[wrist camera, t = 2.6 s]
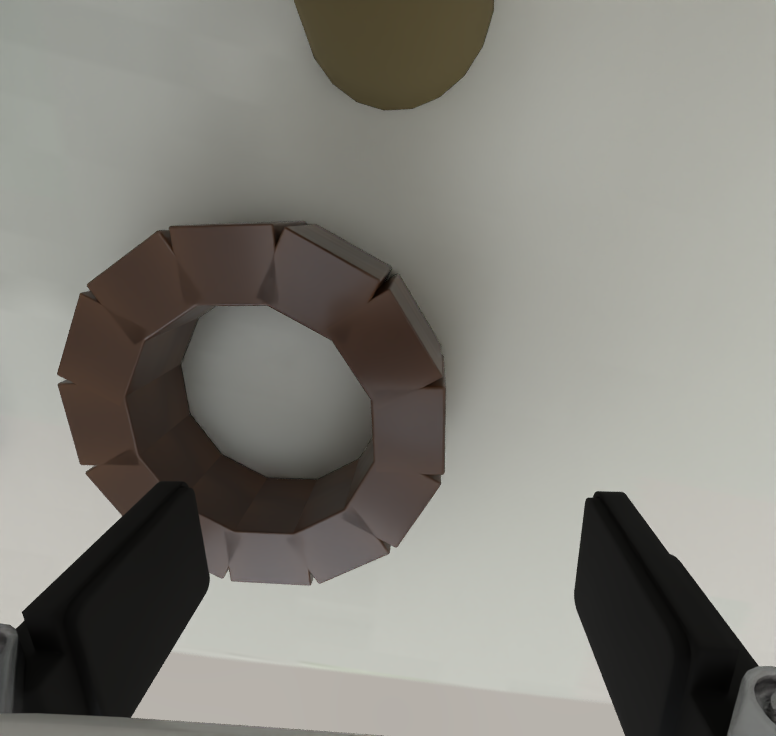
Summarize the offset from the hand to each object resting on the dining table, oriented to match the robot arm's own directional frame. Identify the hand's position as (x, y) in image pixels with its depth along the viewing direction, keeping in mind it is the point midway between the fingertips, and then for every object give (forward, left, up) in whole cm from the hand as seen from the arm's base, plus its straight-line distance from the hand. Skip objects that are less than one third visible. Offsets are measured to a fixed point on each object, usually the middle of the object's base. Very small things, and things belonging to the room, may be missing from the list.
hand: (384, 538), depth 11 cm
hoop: (+5, -1, -8) cm, 10 cm away
